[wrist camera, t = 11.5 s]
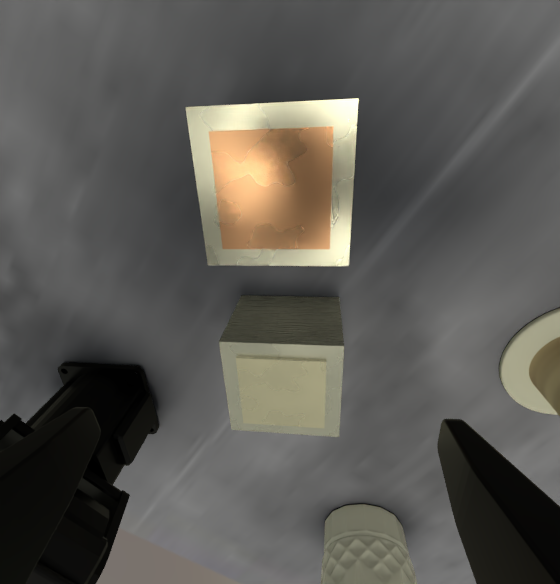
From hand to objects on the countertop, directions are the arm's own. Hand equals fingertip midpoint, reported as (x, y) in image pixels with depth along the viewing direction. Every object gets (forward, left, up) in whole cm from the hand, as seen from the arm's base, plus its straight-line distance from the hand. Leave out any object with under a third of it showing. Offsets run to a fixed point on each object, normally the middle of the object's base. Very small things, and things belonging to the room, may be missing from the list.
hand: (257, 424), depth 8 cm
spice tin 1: (0, +5, -12) cm, 13 cm away
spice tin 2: (0, -5, -12) cm, 13 cm away
